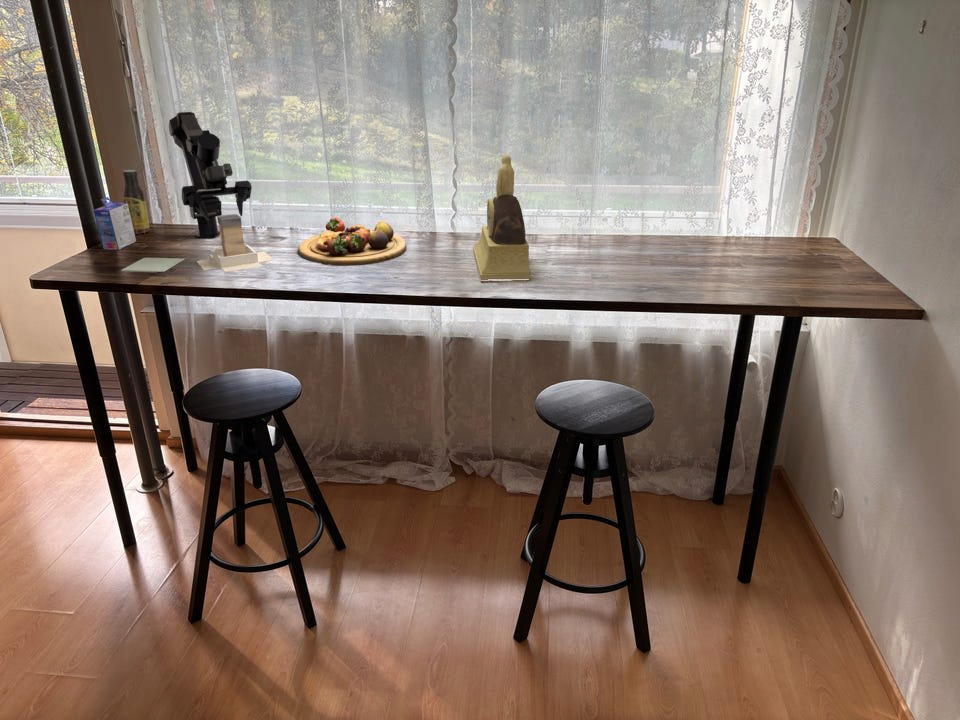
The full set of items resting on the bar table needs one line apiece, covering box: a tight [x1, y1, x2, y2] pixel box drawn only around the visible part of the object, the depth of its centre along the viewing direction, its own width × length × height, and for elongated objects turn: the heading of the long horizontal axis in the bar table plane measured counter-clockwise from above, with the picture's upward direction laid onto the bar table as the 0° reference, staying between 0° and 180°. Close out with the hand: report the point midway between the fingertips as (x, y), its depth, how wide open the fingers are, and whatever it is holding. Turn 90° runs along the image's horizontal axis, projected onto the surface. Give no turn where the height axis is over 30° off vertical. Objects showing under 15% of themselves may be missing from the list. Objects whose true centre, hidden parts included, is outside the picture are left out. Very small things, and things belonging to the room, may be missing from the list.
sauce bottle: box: [122, 169, 150, 235], centre depth 226 cm, size 6×6×20 cm
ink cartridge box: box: [93, 196, 137, 251], centre depth 212 cm, size 10×6×14 cm, turn 174°
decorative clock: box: [472, 154, 531, 280], centre depth 190 cm, size 28×13×30 cm, turn 4°
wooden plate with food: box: [297, 216, 407, 266], centre depth 210 cm, size 32×32×8 cm
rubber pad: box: [121, 257, 185, 273], centre depth 196 cm, size 12×12×1 cm
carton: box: [196, 244, 275, 273], centre depth 199 cm, size 19×19×3 cm
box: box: [216, 213, 245, 257], centre depth 197 cm, size 5×5×12 cm
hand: (225, 217), depth 199 cm, fingers open, 9 cm apart
